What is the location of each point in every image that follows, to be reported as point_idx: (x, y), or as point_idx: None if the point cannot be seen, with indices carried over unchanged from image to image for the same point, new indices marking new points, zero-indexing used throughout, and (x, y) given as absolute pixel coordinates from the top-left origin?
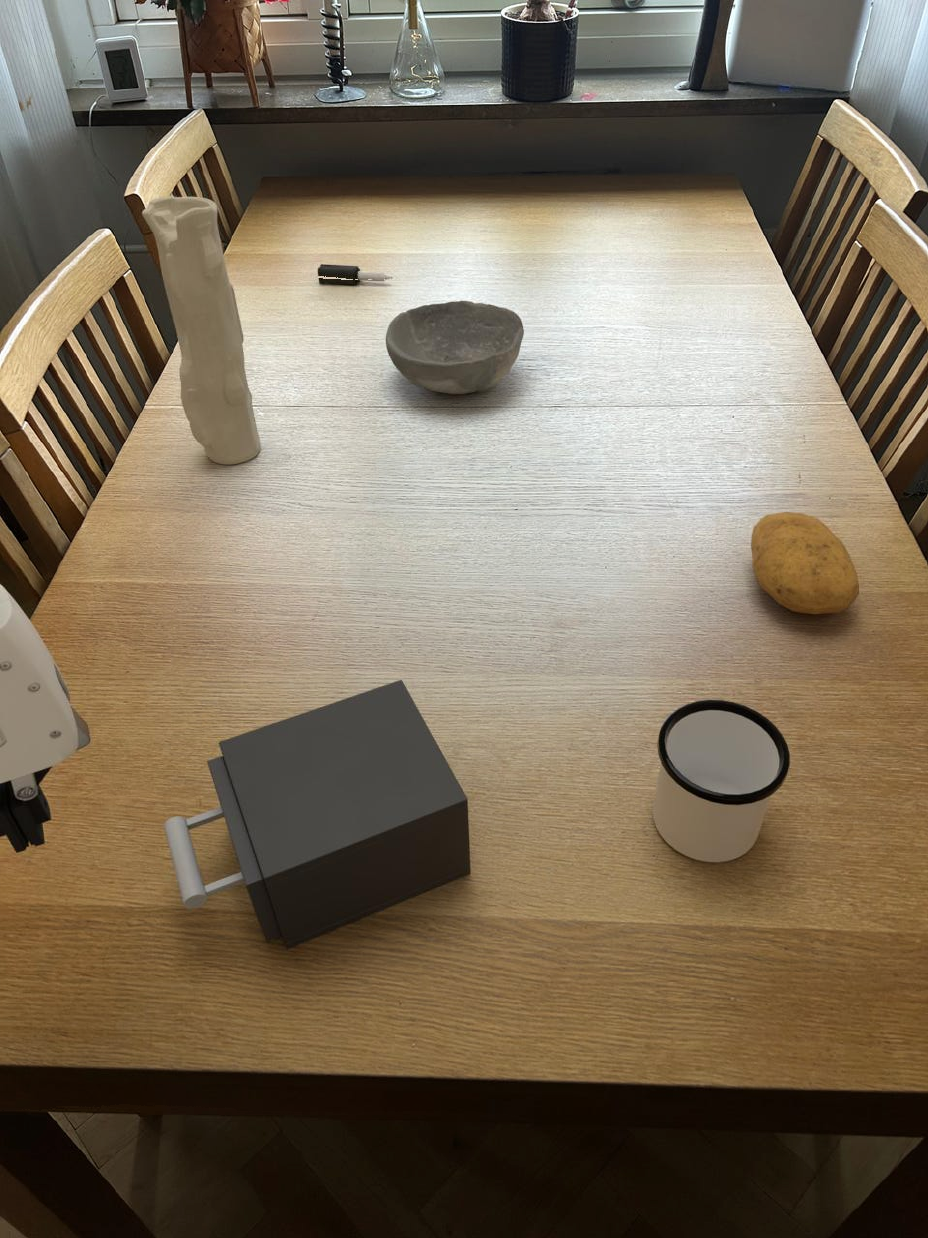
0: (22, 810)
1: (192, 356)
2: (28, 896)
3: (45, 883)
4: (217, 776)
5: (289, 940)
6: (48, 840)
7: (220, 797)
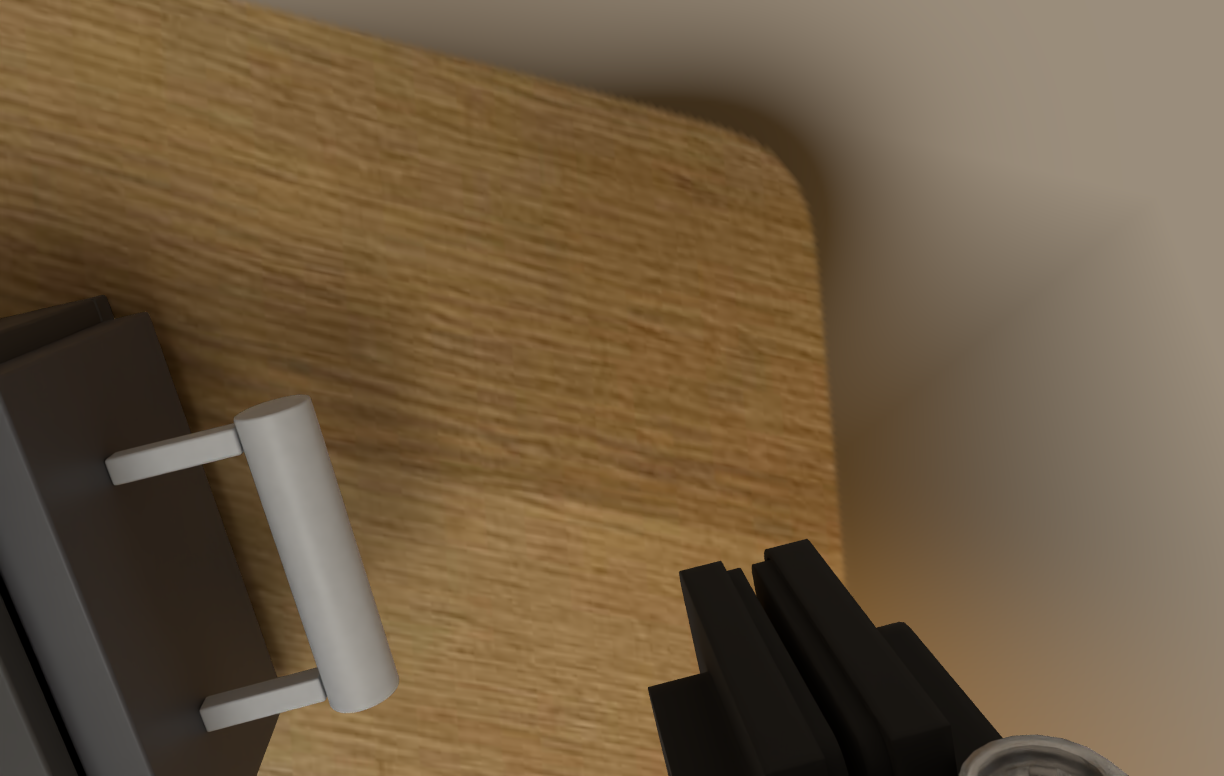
0: (771, 741)
1: None
2: None
3: None
4: None
5: (73, 303)
6: None
7: (136, 757)
